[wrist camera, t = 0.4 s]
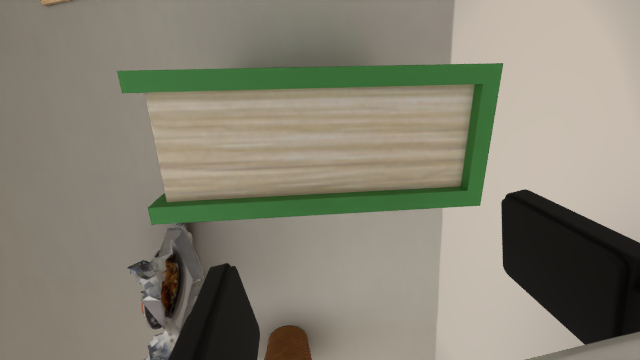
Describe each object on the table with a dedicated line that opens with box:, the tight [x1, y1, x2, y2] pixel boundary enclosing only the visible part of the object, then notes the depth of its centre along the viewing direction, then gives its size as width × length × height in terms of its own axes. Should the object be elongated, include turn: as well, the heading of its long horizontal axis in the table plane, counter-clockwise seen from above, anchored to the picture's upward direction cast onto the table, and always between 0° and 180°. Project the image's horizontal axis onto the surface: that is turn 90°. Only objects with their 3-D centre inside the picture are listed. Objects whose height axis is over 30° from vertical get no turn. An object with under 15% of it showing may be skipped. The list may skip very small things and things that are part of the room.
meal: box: [128, 223, 205, 360], centre depth 37 cm, size 15×4×13 cm, turn 0°
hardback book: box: [117, 63, 503, 225], centre depth 26 cm, size 18×7×24 cm, turn 91°
